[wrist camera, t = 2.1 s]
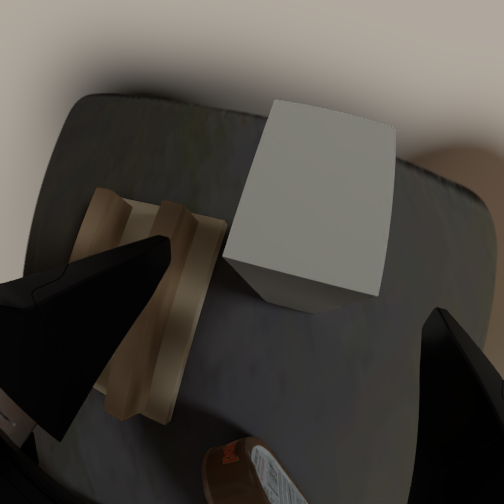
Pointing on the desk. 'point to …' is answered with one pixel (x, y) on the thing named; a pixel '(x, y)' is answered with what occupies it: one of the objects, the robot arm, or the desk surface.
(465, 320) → the desk surface
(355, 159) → the clay bar
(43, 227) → the desk surface
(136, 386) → the rack
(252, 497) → the tin
